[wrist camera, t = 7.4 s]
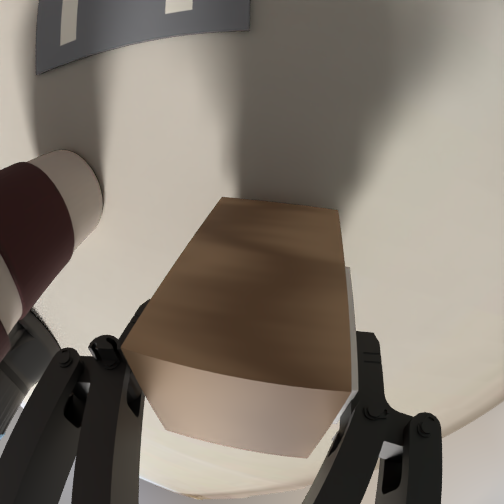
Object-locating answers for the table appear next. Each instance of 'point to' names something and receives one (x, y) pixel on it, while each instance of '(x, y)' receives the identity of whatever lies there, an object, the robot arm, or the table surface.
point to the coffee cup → (41, 228)
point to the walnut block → (250, 330)
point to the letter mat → (126, 24)
